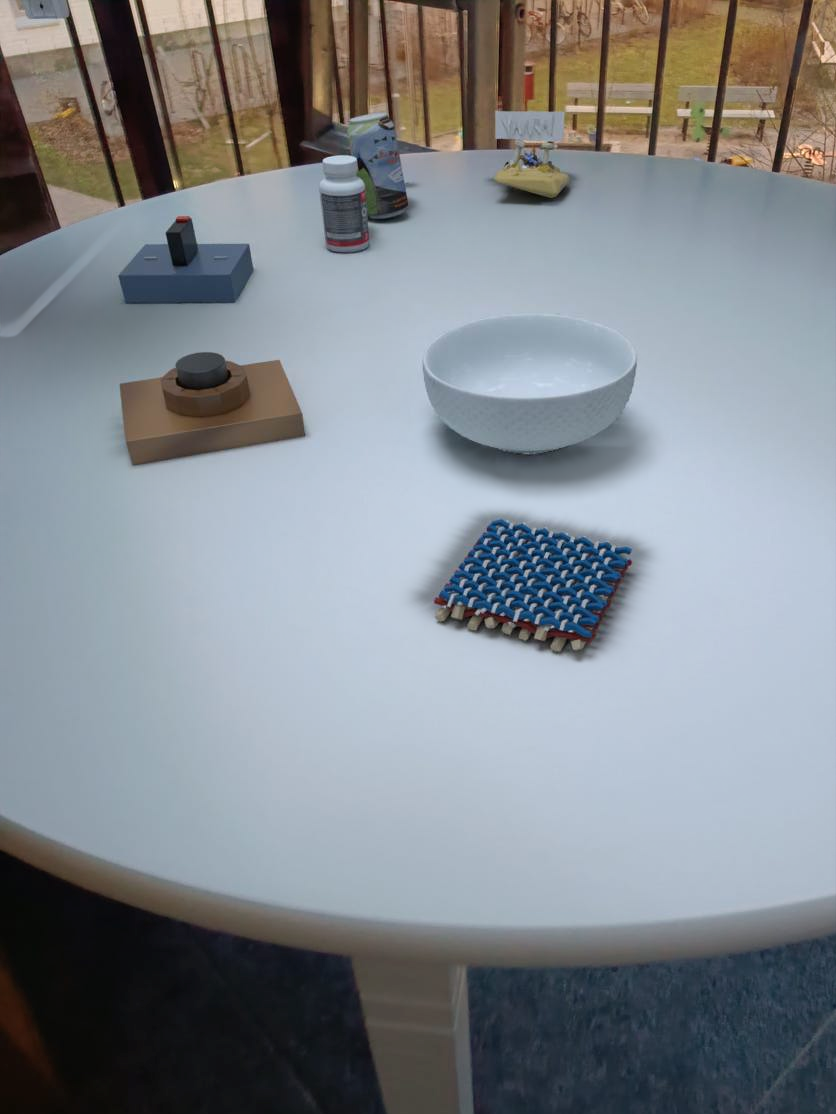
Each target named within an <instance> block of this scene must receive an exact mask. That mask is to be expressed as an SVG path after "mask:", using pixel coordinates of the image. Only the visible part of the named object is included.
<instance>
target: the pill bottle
mask: <svg viewBox="0 0 836 1114" xmlns="http://www.w3.org/2000/svg"><path fill="white" fill-rule="evenodd" d="M357 170H358V165H357V159H356V158H355V157H353V156H351V155H345V154H344V155H343V154H341V155H332V156H328V157H325V158H323V159H322V172H323V175H325V177H324V178H323V179H322V180H321V181H320V183H319V186H318V188H319V189H318V191H319V198H320V199H319V200H320V208H321V216H322V225H323V235H324V243H325V246H326V247H325V248H327V249H328V250H329V251H331V252H332V251H333V252H336V253H348V254H349V253H355V252H360V251H363V250H365V249H366V248H368V247H369V246H370V232H369V220H368V218H369V217H368V215H367V205H366V193H365V184H364V182H363V181H362V179H360V178H359V177H356V173H357V172H358V171H357Z"/></svg>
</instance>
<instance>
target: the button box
mask: <svg viewBox="0 0 836 1114" xmlns="http://www.w3.org/2000/svg"><path fill="white" fill-rule="evenodd" d="M225 362H226V367H227V372H228V377H229V380H228V382H227V383H225V384H223V385H220V386H218V387H216V388H211V389H204V390H189V389H184V388H182V387H181V386H180V383H179V379H178V375H177V370H176V367H174V368H172V369H170V370H168V371H167V373H165V374H164V375H163V376H160V377H154V378H148V379H141V380H140V379H139V380H135V381H134V380H133V381H129V382H128V381H127V382H121V383H119V384H118V385H119V394H120V402H121V411H122V420H123V430H124V438H125V444H126V449H127V452H128V456H129V458H130V462H131V464H132V466H138V465H144V464H150V463H156V462H161V461H167V460H173V459H178V458H185V457H191V456H196V455H201V454H202V455H203V454H208V453H214V452H219V451H221V452H222V451H226V450H233V449H237V448H238V449H239V448H244V447H249V446H254V445H255V446H256V445H261V444H262V445H263V444H266V443H268V444H269V443H274V442H278V441H285V440H290V439H297V438H301V437H306V429H305V423H304V416H303V412H302V408H301V406H300V404H299V402H298V400H297V397H296V395H295V392H294V390H293V388H292V385H291V383H290V381H289V379H288V377H287V374H286V371H285V370H284V368H283V365H282V363H281V360H280V359H273V360H269V361H268V360H267V361H262V362H261V361H260V362H254V363H249V364H241V365H240V364H238V363H236V362H233V361H231V360H225Z"/></svg>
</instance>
